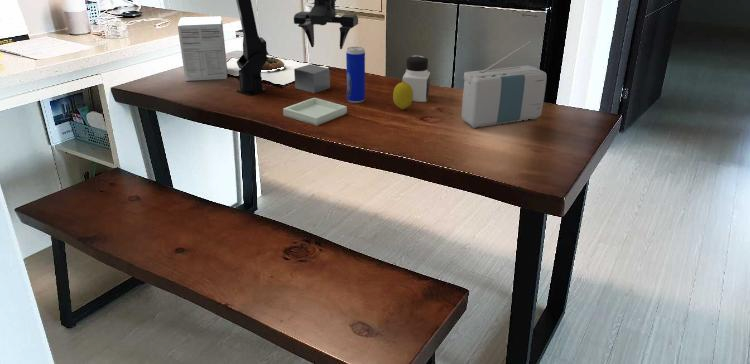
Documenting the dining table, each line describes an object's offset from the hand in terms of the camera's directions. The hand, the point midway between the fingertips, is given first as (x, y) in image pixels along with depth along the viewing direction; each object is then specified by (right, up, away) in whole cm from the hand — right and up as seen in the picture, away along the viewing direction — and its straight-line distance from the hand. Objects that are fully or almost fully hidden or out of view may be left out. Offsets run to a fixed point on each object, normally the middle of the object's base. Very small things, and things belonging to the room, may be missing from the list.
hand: (326, 48), depth 173 cm
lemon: (+22, -21, -17) cm, 35 cm away
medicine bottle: (+27, -17, -8) cm, 32 cm away
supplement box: (-40, -6, +12) cm, 43 cm away
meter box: (-4, -12, 0) cm, 13 cm away
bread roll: (-21, -3, +20) cm, 29 cm away
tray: (-1, -23, -21) cm, 31 cm away
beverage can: (+9, -18, -10) cm, 23 cm away
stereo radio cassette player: (+48, -25, -24) cm, 59 cm away
